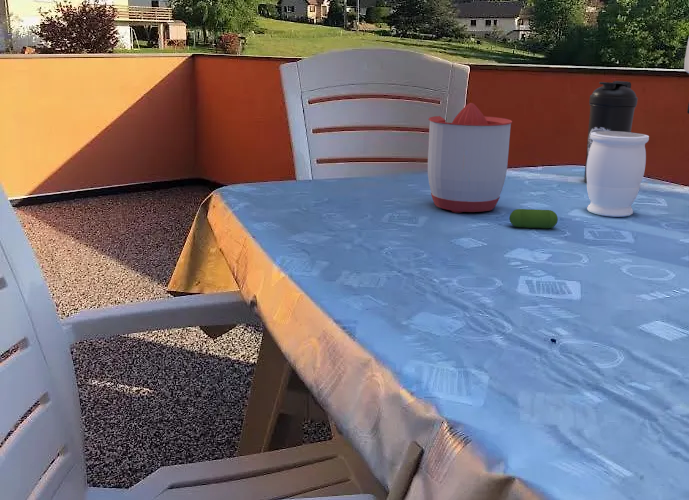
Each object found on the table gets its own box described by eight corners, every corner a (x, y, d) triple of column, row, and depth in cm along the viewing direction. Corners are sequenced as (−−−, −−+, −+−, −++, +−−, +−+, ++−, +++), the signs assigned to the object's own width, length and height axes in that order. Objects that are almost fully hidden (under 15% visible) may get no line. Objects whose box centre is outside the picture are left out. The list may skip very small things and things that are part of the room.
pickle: (554, 226, 125) (556, 208, 124) (558, 230, 122) (560, 212, 121) (507, 224, 126) (509, 206, 125) (510, 229, 123) (511, 211, 122)
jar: (585, 204, 143) (594, 129, 138) (640, 209, 138) (651, 132, 134) (577, 214, 134) (586, 135, 129) (636, 221, 129) (647, 139, 125)
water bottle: (571, 181, 165) (583, 80, 159) (593, 177, 172) (605, 79, 166) (612, 188, 158) (626, 83, 152) (634, 183, 165) (647, 82, 158)
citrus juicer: (476, 195, 149) (483, 98, 143) (520, 214, 133) (530, 106, 128) (408, 198, 144) (412, 98, 139) (445, 218, 129) (452, 107, 123)
